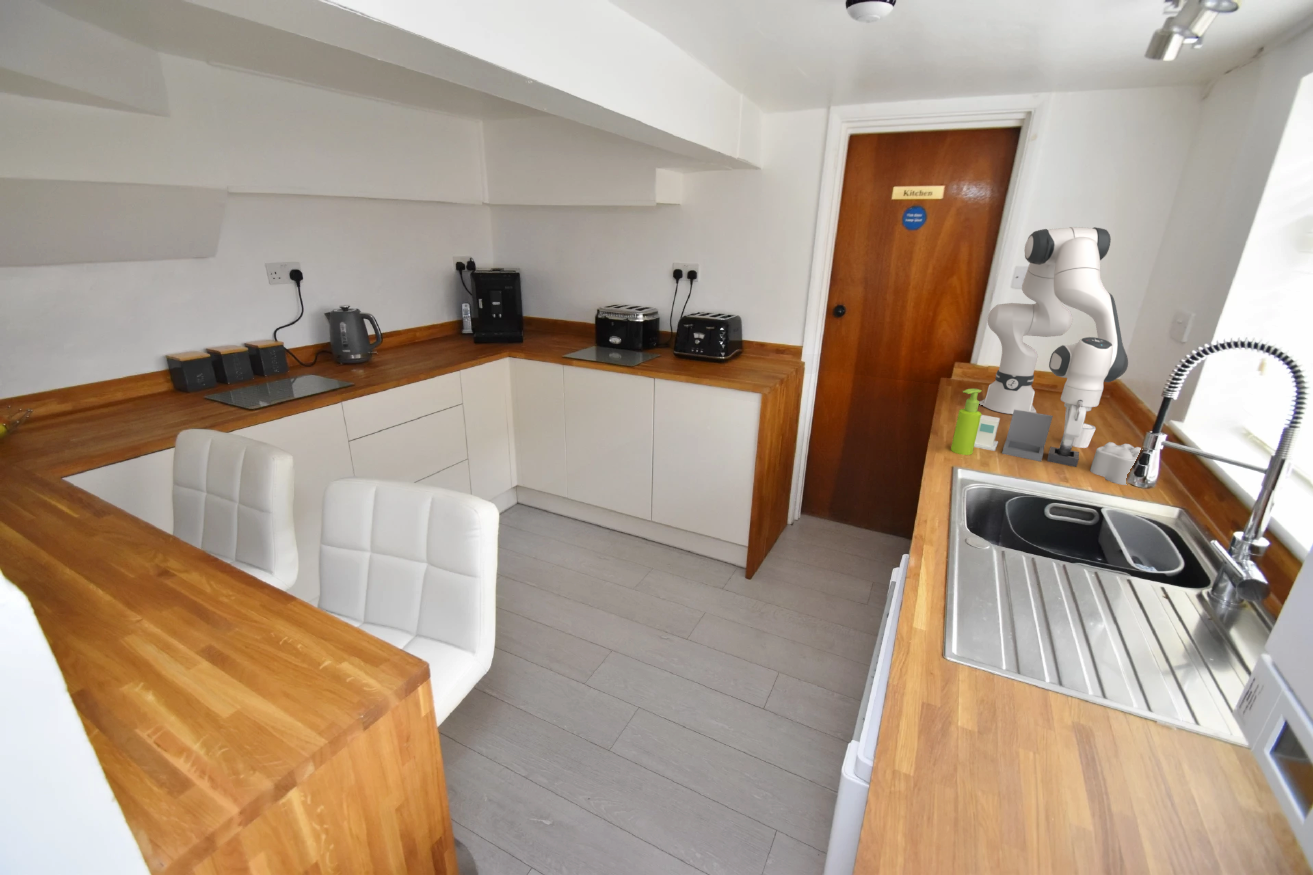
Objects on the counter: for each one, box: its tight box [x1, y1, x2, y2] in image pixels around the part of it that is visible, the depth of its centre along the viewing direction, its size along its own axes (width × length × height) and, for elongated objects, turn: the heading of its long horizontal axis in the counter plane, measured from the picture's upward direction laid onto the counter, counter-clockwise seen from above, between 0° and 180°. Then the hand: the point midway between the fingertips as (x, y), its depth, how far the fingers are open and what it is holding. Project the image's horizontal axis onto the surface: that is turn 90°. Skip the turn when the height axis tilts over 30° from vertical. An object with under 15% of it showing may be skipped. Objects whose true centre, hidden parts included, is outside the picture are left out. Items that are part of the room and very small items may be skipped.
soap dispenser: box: [950, 388, 983, 456], centre depth 169 cm, size 6×7×20 cm
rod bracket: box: [1047, 446, 1080, 468], centre depth 167 cm, size 7×7×3 cm
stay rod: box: [1058, 433, 1075, 456], centre depth 166 cm, size 3×3×8 cm
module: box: [975, 414, 1001, 447], centre depth 177 cm, size 5×5×8 cm
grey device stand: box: [1001, 409, 1054, 462], centre depth 171 cm, size 10×10×12 cm
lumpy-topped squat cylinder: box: [1090, 441, 1142, 486], centre depth 158 cm, size 10×13×9 cm
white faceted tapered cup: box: [1072, 422, 1097, 449], centre depth 179 cm, size 7×7×7 cm
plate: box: [974, 440, 999, 452], centre depth 179 cm, size 8×7×1 cm
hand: (1067, 442), depth 166 cm, fingers closed on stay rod, 3 cm apart
